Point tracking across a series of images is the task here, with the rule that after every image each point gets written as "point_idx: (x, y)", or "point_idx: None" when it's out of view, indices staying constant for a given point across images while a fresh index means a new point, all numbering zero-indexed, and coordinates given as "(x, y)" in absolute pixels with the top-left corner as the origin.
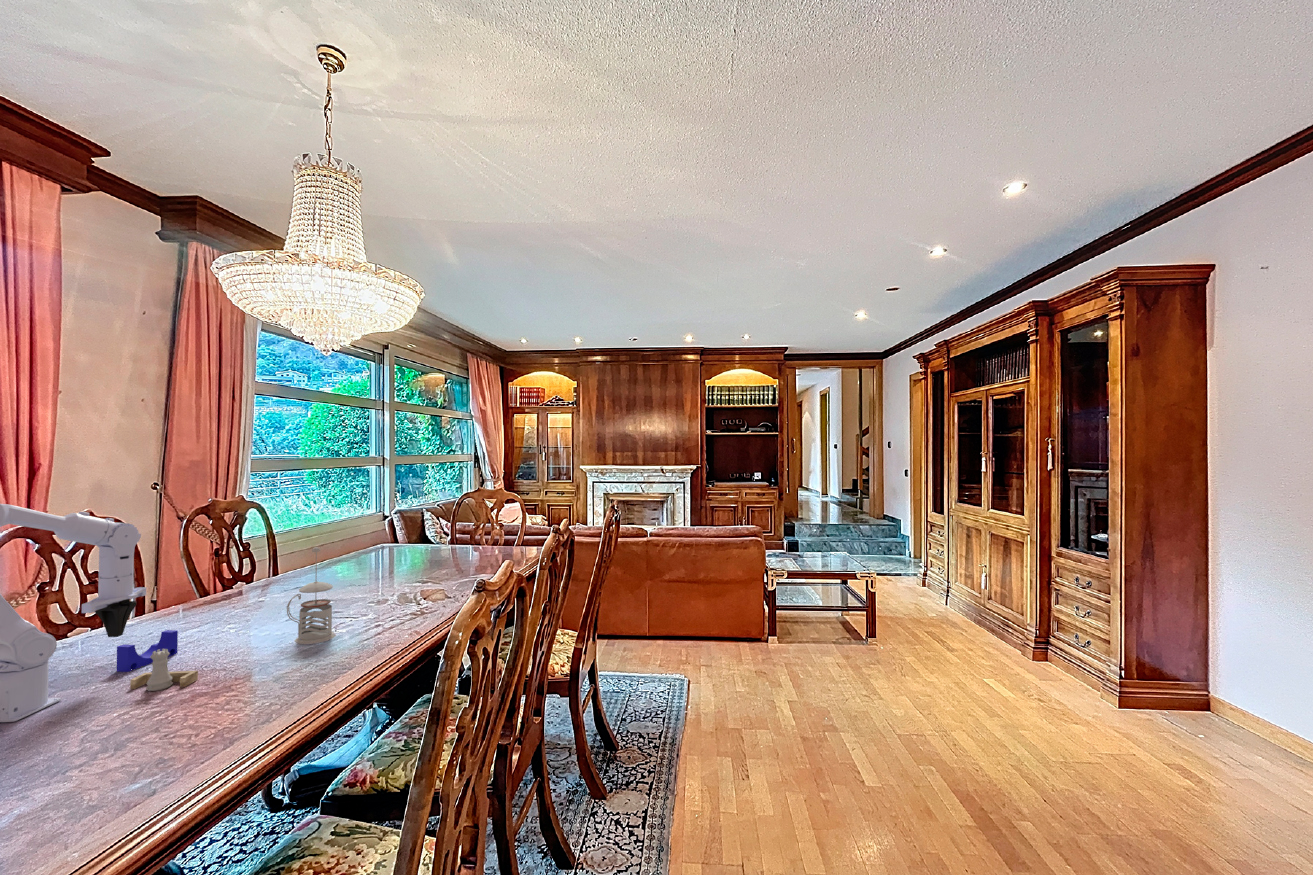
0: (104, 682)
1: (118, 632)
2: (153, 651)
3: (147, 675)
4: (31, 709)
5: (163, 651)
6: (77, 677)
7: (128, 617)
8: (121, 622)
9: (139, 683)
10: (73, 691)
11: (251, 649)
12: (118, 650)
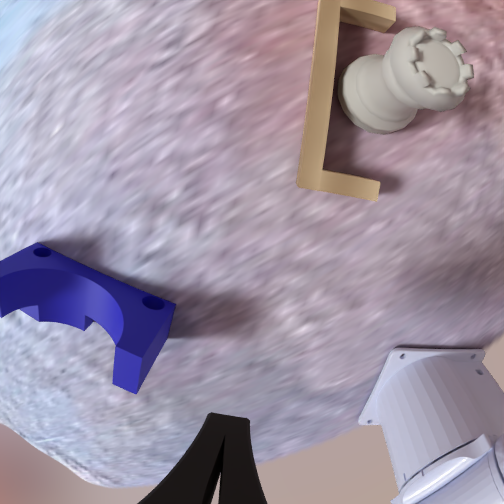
0: (265, 322)
1: (249, 437)
2: (449, 95)
3: (321, 165)
4: (450, 360)
5: (429, 49)
6: (204, 403)
7: (158, 490)
8: (235, 488)
9: (353, 175)
10: (323, 361)
11: (48, 21)
12: (142, 379)
